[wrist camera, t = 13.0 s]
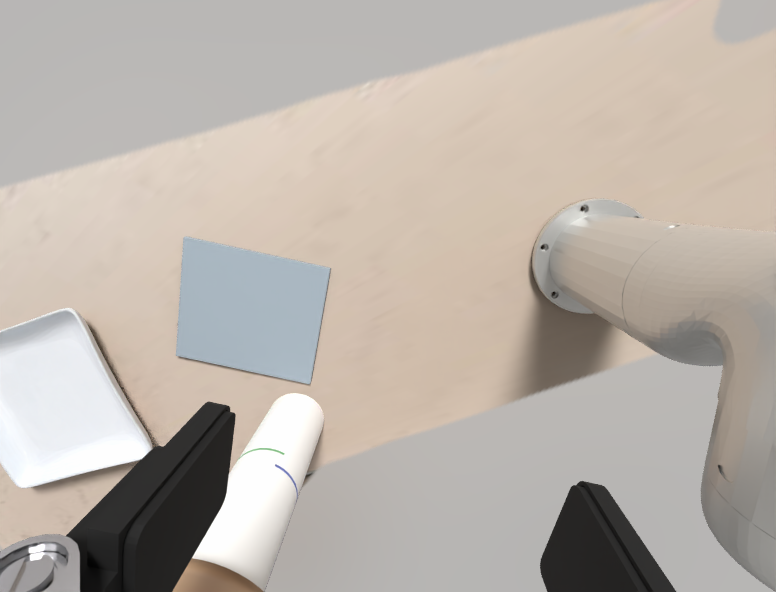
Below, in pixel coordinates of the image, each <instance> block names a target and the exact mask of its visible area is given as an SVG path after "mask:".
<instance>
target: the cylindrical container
mask: <svg viewBox="0 0 776 592" xmlns="http://www.w3.org/2000/svg"><path fill="white" fill-rule="evenodd" d="M323 425H324V415H323V411H322V409H321V407H320V406H319V405H318V403H317V402H316V401H314V400H313V399H312V398H310V397H308V396H306V395H303V394H297V393H292V394H287V395H283V396H282V397H280V398H278V399H277V400H276V401H275V402H274V404H273V405H272V407H271V408H270V410H269V411H268V413H267V415H266V416H265V418H264V419H263V421H262V422H261V424H260V426H259V427H258V429H257V430H256V432H255V434H254V435H253V437H252V438H251V440H250V442H249V443H248V445H247V446H246V448H245V450H244V451H243V453H242V454H241V456H240V458H239V459H238V461H237V462H236V464H235V466H234V467H233V469H232V470H231V472H230V474H229V477H228V485H227V493H226V497H225V500H224V503H223V505H222V507H221V509H220V511H219V513H218V514H217V516H216V518H215V519H214V521H213V523H212V525H211V526H210V528H209V530H208V531H207V533H206V535H205V536H204V538H203V540H202V542H201V543H200V545H199V547H198V548H197V550H196V552H195V554H194V555H193V557H192V558H193V559H199V560H204V561H207V562H211V563H215V564H218V565H220V566H223V567H226V568H228V569H230V570H232V571H234V572H236V573H238V574H240V575H242V576H243V577H245V578H247V579H248V580H250V581H251V582H253V583H254V584H255V585H257V586H258V587H259V588H260V589H261V590H263V591H264V592H265V589H266V587H267V584H268V581H269V578H270V575H271V572H272V569H273V567H274V564H275V561H276V558H277V555H278V553H279V550H280V547H281V544H282V541H283V539H284V536H285V533H286V530H287V527H288V524H289V521H290V519H291V516H292V513H293V510H294V507H295V504H296V502H297V499H298V496H299V493H300V490H301V488H302V485H303V482H304V479H305V476H306V473H307V471H308V468H309V465H310V462H311V459H312V456H313V454H314V451H315V448H316V445H317V442H318V440H319V437H320V434H321V431H322V428H323Z"/></svg>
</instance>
